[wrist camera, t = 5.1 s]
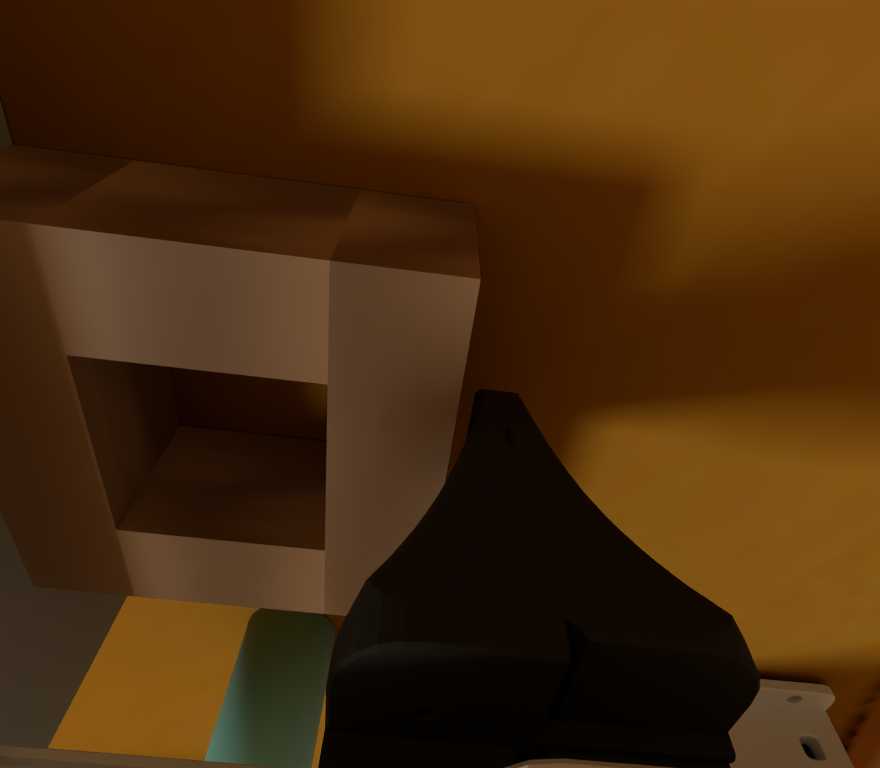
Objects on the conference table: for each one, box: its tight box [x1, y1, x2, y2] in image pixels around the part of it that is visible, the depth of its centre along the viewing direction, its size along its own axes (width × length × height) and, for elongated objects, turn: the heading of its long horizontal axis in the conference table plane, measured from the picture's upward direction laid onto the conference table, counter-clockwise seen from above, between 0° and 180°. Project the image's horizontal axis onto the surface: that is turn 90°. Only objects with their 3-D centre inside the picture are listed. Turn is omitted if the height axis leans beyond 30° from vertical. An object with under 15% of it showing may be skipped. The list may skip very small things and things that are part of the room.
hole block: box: [0, 145, 481, 616], centre depth 13 cm, size 9×9×4 cm
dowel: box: [205, 608, 336, 768], centre depth 18 cm, size 3×3×7 cm
